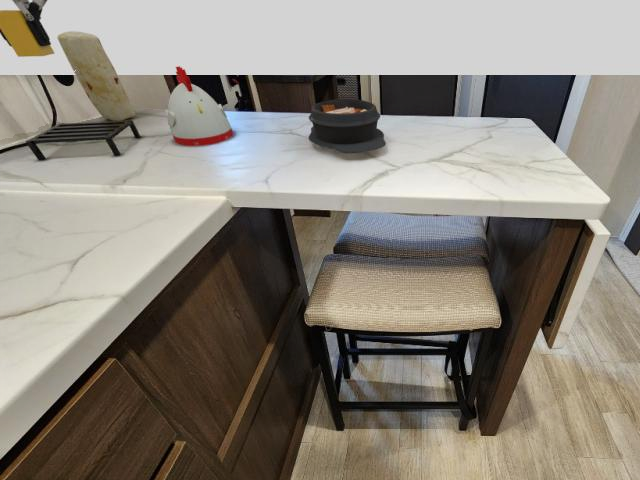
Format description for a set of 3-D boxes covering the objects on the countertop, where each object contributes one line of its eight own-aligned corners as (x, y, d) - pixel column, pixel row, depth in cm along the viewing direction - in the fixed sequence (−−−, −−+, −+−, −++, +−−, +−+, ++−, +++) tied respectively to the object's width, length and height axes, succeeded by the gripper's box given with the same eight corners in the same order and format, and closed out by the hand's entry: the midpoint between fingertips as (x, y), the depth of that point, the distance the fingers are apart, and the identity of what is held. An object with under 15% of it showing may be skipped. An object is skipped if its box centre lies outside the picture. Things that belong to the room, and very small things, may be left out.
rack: (38, 160, 72) (24, 141, 70) (70, 140, 82) (59, 123, 80) (119, 155, 75) (108, 137, 72) (141, 136, 85) (132, 119, 82)
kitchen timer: (183, 149, 78) (152, 74, 68) (168, 135, 86) (137, 66, 75) (241, 138, 85) (220, 67, 75) (222, 126, 92) (200, 60, 82)
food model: (141, 115, 100) (101, 30, 86) (133, 121, 95) (89, 32, 81) (105, 116, 98) (58, 30, 85) (95, 123, 93) (44, 32, 80)
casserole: (296, 135, 87) (289, 99, 81) (360, 125, 94) (357, 91, 88) (330, 167, 71) (325, 124, 65) (404, 152, 78) (405, 113, 72)
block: (18, 56, 67) (-11, 11, 62) (30, 53, 70) (4, 10, 66) (43, 56, 68) (16, 11, 63) (54, 53, 71) (30, 10, 66)
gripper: (21, -84, 60) (85, 43, 72) (-93, -89, 57) (-5, 44, 69) (-7, -92, 54) (68, 47, 67) (-134, -98, 52) (-31, 48, 64)
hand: (30, 44), depth 68 cm, fingers closed on block, 4 cm apart
